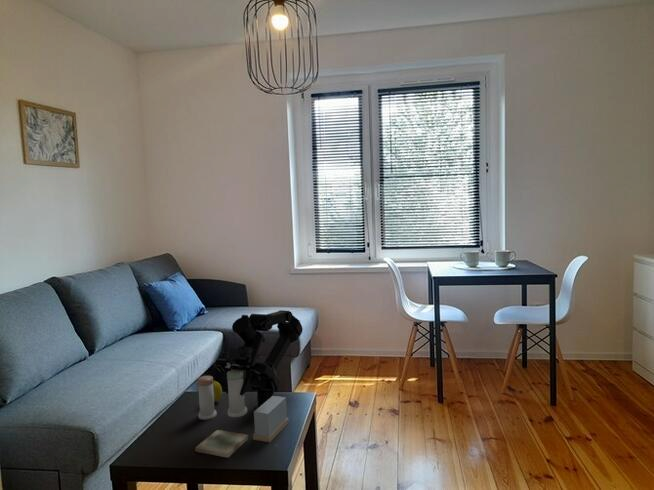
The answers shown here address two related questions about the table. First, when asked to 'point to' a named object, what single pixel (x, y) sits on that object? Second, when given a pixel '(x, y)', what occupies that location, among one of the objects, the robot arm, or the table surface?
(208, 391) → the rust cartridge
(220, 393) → the lemon
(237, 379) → the knob
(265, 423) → the block
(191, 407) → the table surface
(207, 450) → the pad
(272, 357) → the robot arm
